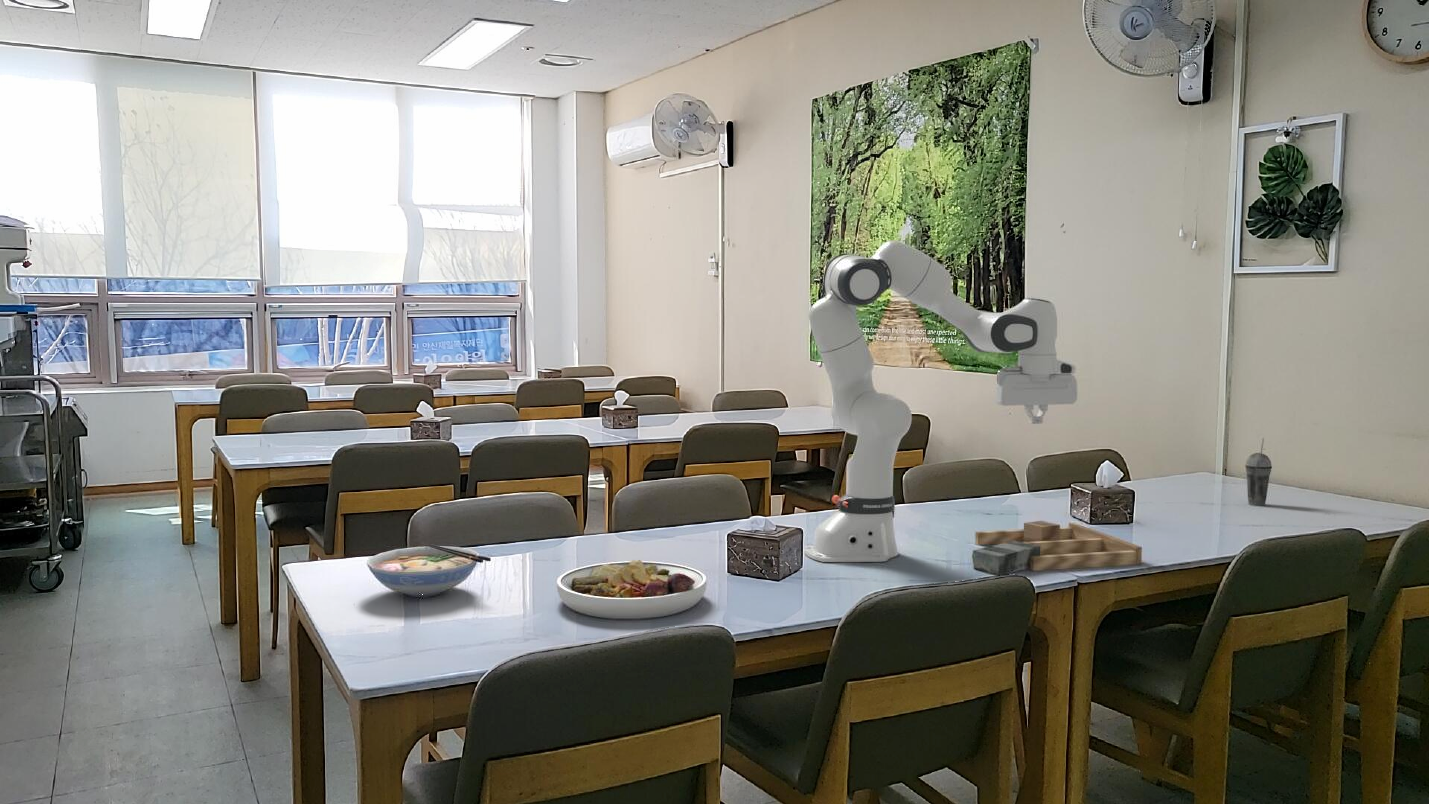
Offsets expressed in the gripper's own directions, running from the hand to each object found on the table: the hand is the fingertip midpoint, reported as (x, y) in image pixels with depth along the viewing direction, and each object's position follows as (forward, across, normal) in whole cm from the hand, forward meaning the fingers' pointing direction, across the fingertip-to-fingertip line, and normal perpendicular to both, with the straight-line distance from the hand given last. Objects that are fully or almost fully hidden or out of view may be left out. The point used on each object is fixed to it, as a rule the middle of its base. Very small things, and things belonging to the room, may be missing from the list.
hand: (1035, 423), depth 263 cm
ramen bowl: (+31, -143, -7) cm, 147 cm away
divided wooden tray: (+31, +4, -4) cm, 32 cm away
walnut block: (+31, +4, +2) cm, 32 cm away
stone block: (+32, -15, -14) cm, 38 cm away
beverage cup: (+31, +97, +40) cm, 109 cm away
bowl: (+32, -102, -23) cm, 109 cm away
